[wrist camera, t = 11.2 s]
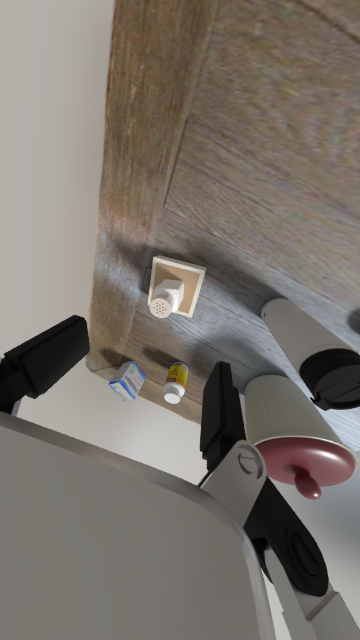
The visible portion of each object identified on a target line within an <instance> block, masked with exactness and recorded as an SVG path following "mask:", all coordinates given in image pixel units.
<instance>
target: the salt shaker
mask: <svg viewBox="0 0 360 640" xmlns="http://www.w3.org/2000/svg"><path fill="white" fill-rule="evenodd" d="M183 295H184V282H183V281H179V280H169V279H166V280H164V281H163V282H162V283H161V284H159V285H158V286H157V287H156V288H155V293H154V299H153V300H152V301H151V302H150V310H151V313H152V314H153V315H154V316H156V317H159V318H166V317H167V316H168V315H169V314H170V313H171V312H175V311H177V310H178V308H179V306H180V304H181V302H182V300H183Z"/></svg>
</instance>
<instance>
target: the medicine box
mask: <svg viewBox="0 0 360 640" xmlns="http://www.w3.org/2000/svg"><path fill="white" fill-rule="evenodd" d="M145 378H146V376H145V374H144V373H143V372H142V371H141V369H140V368H139V367H138V366H137V364H136V363H135V362H134V361H133V360H132V361H129V362H125V363H123V365H122V366H121V367H120V369H119V370H118V372H117V373H116V374H115V376H114V377H113V378H112V380H111V381H110V383H109V385H110V386H111V387H112V388H113V389H114V391H115V392H116V393H117V394H118V395H119V396H120V397H121V398H122V399H123V400H124V401H130V400H134V399H135V398H136V396H137V394H138V392H139V390H140V388H141V386H142V384H143V382H144V380H145Z"/></svg>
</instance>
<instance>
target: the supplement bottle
mask: <svg viewBox="0 0 360 640" xmlns="http://www.w3.org/2000/svg"><path fill="white" fill-rule="evenodd" d="M187 375H188V367H187V366H186V365H185V364H184V363H181V362H175V363H173V364H172V365H171V367H170V370H169V373H168V376H167V379H166V382H165V385H164V391H165V395H164V398H165V400H166V401H167V402H169V403H173V404H175V403H178V402H179V401H180V397H181V396H183V394H184V392H185V386H186V381H187Z"/></svg>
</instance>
